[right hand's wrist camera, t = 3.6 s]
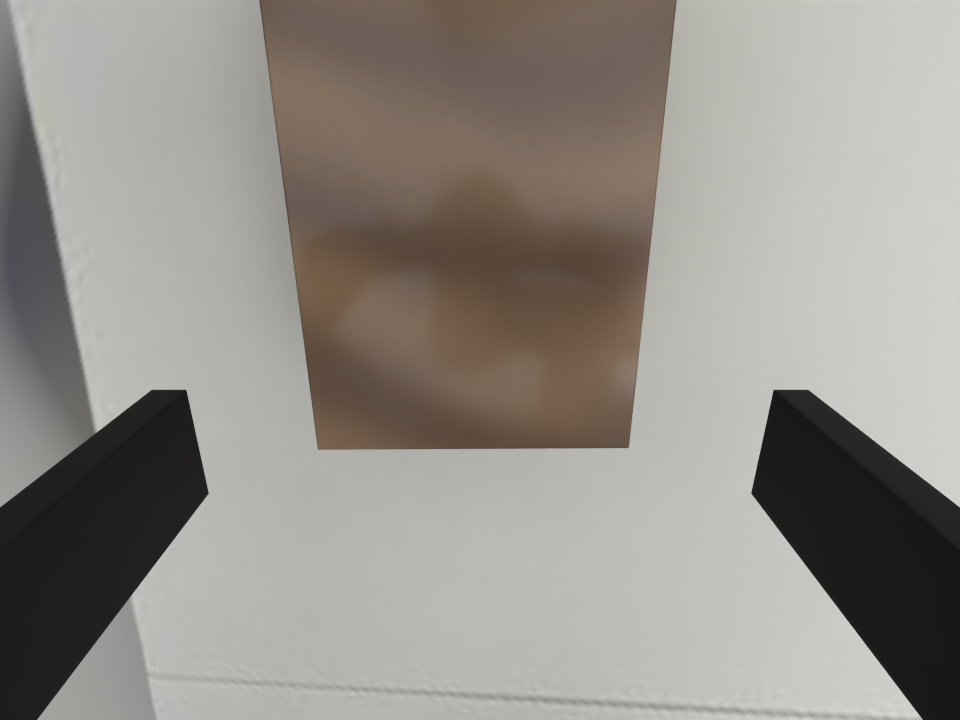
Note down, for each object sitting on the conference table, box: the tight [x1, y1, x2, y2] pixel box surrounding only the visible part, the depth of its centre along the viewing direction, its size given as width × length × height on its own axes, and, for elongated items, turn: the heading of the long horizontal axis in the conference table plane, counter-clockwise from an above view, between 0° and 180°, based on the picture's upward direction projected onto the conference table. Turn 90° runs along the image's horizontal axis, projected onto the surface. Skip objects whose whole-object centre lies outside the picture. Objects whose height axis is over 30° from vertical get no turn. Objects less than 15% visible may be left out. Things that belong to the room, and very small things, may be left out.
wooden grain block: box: [259, 0, 676, 450], centre depth 21 cm, size 15×11×9 cm
